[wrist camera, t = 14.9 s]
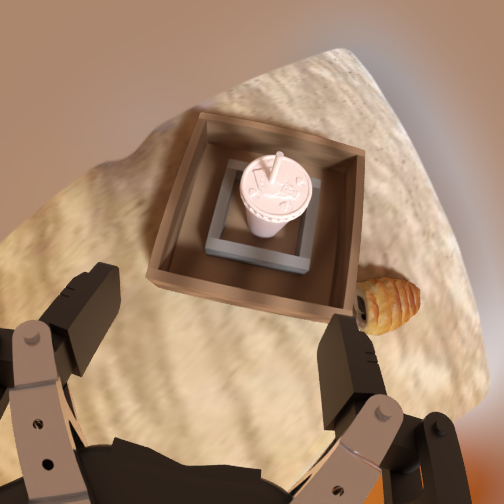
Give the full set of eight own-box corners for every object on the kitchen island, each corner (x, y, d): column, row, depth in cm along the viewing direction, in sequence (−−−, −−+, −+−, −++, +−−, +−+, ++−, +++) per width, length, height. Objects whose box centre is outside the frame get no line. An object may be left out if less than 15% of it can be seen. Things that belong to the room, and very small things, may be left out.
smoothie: (253, 188, 37) (269, 112, 23) (300, 215, 36) (340, 150, 23) (225, 231, 35) (226, 168, 21) (274, 260, 35) (306, 213, 21)
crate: (158, 287, 34) (145, 277, 28) (203, 140, 39) (200, 111, 33) (331, 324, 34) (350, 320, 28) (348, 174, 40) (364, 150, 34)
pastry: (408, 272, 37) (424, 266, 33) (418, 322, 35) (435, 320, 32) (346, 285, 36) (359, 279, 32) (356, 340, 34) (370, 340, 31)
